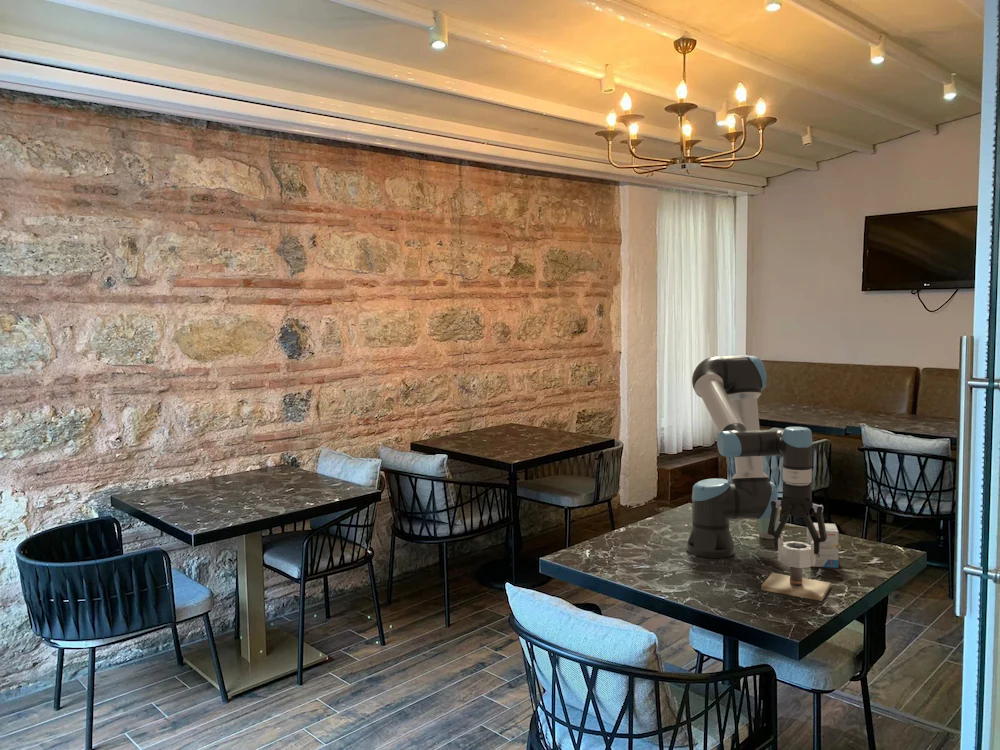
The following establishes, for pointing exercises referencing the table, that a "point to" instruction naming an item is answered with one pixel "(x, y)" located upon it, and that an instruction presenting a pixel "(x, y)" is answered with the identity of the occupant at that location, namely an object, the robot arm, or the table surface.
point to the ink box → (826, 547)
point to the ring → (795, 554)
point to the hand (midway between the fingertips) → (796, 562)
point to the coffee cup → (764, 524)
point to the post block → (796, 585)
